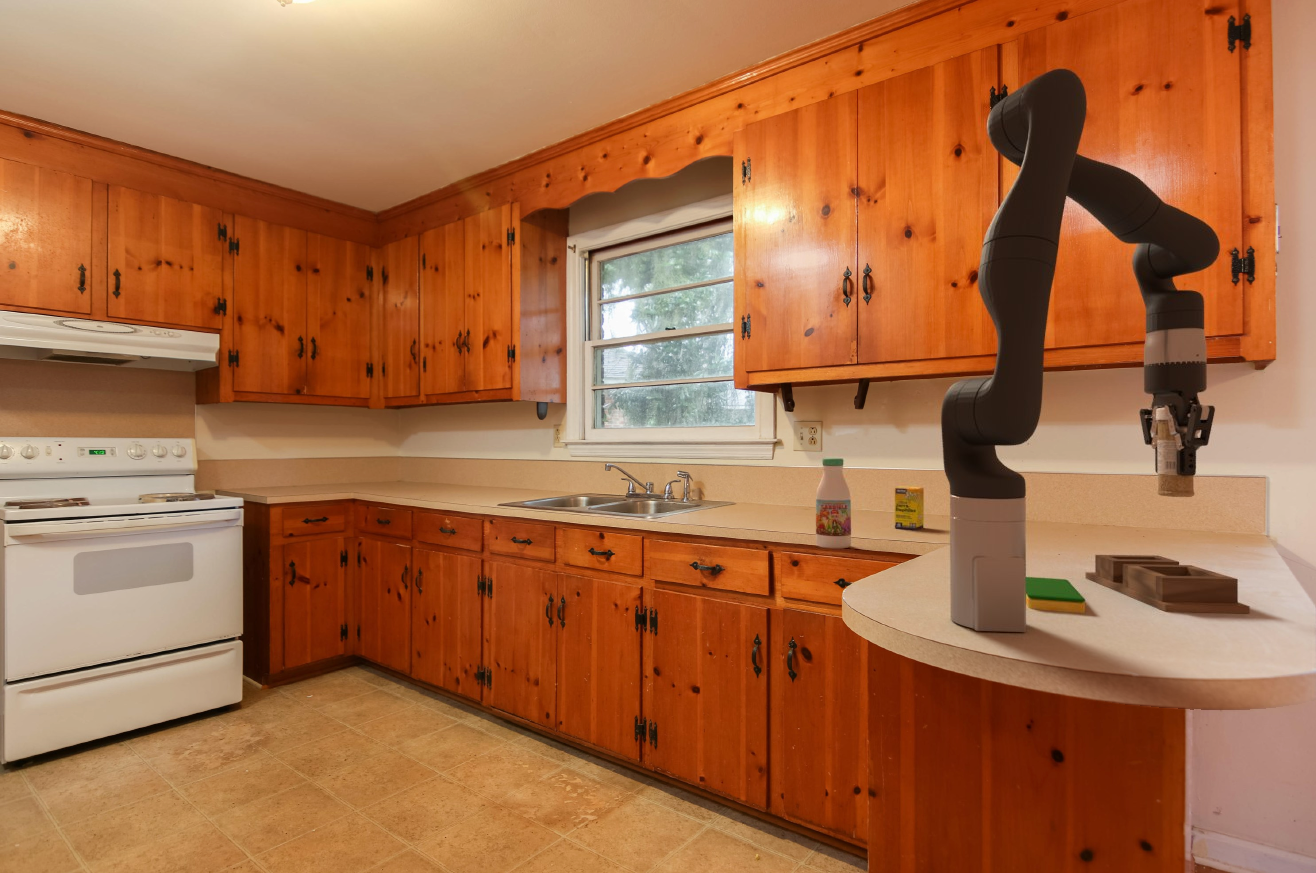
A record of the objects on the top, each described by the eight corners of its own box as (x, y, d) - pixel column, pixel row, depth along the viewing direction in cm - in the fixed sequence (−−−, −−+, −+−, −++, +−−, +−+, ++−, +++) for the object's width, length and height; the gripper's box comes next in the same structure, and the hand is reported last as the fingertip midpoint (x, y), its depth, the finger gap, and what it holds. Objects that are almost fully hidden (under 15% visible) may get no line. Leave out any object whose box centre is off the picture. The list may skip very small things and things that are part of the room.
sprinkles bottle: (1199, 496, 101) (1199, 407, 101) (1187, 498, 99) (1187, 406, 98) (1163, 494, 105) (1163, 408, 105) (1151, 495, 102) (1150, 407, 102)
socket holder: (1249, 613, 95) (1249, 581, 94) (1165, 611, 96) (1165, 579, 96) (1153, 578, 116) (1153, 553, 116) (1085, 577, 118) (1085, 552, 118)
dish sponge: (1067, 593, 108) (1067, 578, 108) (1085, 615, 96) (1085, 598, 96) (1017, 590, 111) (1017, 575, 111) (1028, 611, 98) (1028, 594, 98)
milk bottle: (811, 543, 155) (810, 457, 155) (843, 543, 156) (843, 457, 156) (822, 549, 148) (821, 459, 148) (856, 548, 148) (855, 458, 148)
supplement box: (894, 528, 178) (894, 487, 178) (901, 525, 183) (901, 486, 183) (917, 530, 175) (917, 488, 175) (924, 527, 180) (923, 486, 180)
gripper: (1236, 356, 94) (1237, 477, 94) (1170, 366, 108) (1170, 471, 108) (1179, 357, 95) (1179, 477, 95) (1120, 366, 109) (1121, 471, 109)
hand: (1174, 473), depth 102 cm, fingers closed on sprinkles bottle, 4 cm apart
